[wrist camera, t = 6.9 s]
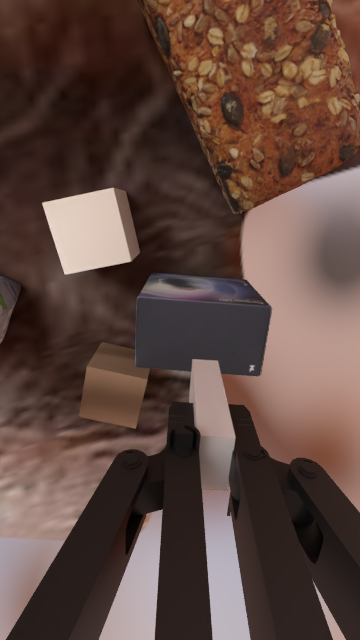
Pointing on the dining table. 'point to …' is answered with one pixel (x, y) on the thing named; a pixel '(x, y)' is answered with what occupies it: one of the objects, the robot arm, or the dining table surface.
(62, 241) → the cream block
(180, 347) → the small box
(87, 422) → the dining table surface
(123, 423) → the walnut block
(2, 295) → the juice carton
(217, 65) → the bread
